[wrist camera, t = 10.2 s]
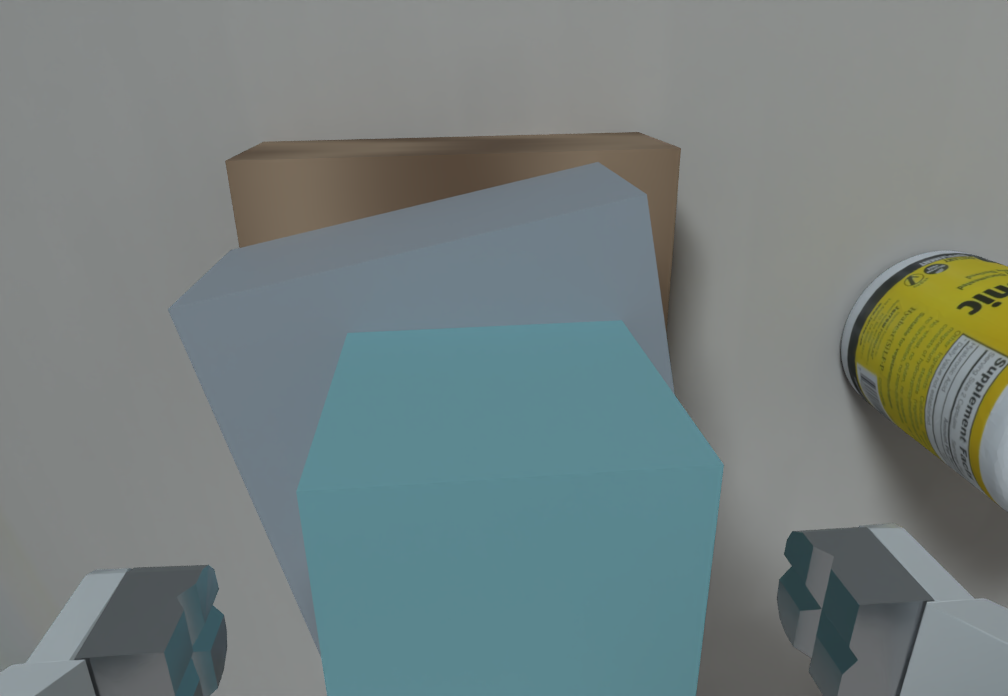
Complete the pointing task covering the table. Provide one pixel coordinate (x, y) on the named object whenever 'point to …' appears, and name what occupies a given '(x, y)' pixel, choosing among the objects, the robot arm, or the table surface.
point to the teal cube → (507, 516)
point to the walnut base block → (433, 179)
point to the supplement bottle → (939, 360)
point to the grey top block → (404, 309)
